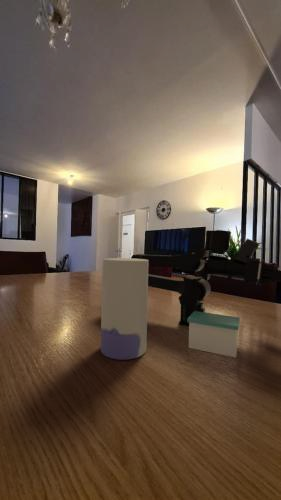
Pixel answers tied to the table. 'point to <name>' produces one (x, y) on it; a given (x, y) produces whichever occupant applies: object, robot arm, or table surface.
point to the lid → (214, 320)
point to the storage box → (213, 339)
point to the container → (124, 307)
